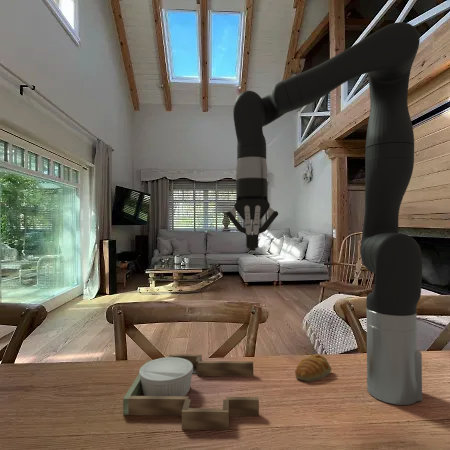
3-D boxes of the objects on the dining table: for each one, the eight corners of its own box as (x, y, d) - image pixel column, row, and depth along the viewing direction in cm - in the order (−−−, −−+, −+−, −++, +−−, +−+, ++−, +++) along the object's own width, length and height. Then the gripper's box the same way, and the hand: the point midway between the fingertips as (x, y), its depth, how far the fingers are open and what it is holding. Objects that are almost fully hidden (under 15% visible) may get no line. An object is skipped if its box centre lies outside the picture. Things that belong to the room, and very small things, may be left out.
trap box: (252, 367, 80) (252, 354, 80) (260, 430, 55) (260, 412, 55) (151, 366, 80) (151, 354, 80) (115, 428, 55) (115, 410, 56)
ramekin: (142, 412, 61) (142, 384, 61) (136, 385, 71) (136, 361, 71) (199, 400, 65) (199, 373, 65) (186, 376, 75) (185, 353, 75)
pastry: (314, 387, 70) (314, 369, 70) (287, 378, 74) (287, 361, 75) (333, 373, 77) (333, 357, 77) (307, 365, 81) (307, 350, 81)
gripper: (277, 180, 81) (277, 249, 81) (224, 181, 82) (225, 249, 82) (281, 175, 74) (282, 251, 74) (223, 176, 74) (224, 251, 74)
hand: (252, 250), depth 78 cm, fingers closed
